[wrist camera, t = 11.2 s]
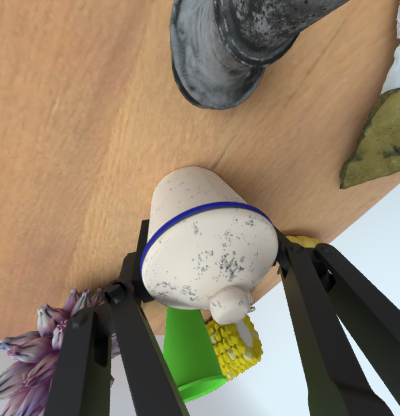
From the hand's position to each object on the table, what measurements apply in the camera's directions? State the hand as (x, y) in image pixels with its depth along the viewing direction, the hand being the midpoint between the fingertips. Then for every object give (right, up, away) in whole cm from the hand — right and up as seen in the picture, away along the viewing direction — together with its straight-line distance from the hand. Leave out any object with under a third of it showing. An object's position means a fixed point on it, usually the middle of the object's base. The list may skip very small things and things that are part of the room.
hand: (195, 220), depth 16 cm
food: (+1, -25, +13) cm, 28 cm away
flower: (-15, -11, +5) cm, 20 cm away
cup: (-3, -16, +11) cm, 20 cm away
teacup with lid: (0, +1, +2) cm, 2 cm away
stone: (+19, +9, +3) cm, 21 cm away
